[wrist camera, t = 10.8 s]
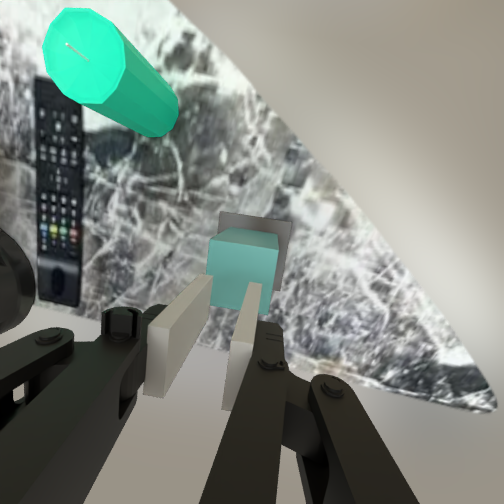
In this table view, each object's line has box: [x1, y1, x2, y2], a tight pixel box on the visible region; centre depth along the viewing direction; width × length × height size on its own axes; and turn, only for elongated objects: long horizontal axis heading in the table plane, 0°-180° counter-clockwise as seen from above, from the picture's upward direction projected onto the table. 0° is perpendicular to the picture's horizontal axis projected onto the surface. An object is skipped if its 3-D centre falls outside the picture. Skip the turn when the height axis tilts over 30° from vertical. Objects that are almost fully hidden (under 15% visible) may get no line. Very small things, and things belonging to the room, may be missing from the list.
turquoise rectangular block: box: [206, 227, 279, 315], centre depth 25 cm, size 5×5×10 cm
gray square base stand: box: [217, 211, 292, 291], centre depth 26 cm, size 8×8×10 cm
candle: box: [42, 8, 179, 137], centre depth 23 cm, size 6×6×12 cm
